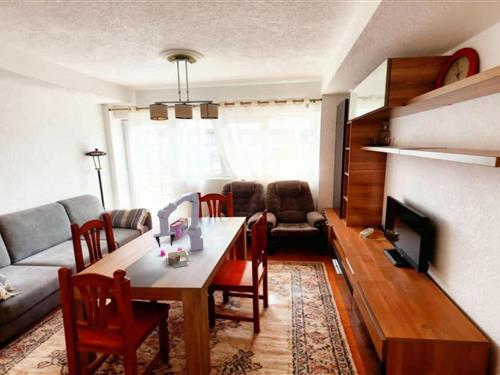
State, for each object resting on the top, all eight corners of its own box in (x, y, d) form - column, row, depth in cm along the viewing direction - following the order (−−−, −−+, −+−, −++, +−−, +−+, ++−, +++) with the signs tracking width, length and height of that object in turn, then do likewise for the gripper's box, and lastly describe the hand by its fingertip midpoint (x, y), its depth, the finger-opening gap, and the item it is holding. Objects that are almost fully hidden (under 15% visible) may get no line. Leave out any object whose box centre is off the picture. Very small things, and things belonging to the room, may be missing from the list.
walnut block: (179, 255, 183) (172, 259, 177) (180, 260, 184) (173, 264, 178) (175, 254, 185) (168, 258, 179) (175, 259, 186) (168, 263, 179)
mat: (186, 262, 183) (186, 261, 183) (188, 266, 176) (188, 265, 176) (172, 264, 180) (172, 263, 180) (173, 268, 173) (173, 267, 173)
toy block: (182, 255, 206) (181, 246, 204) (182, 258, 200) (181, 249, 198) (161, 258, 201) (160, 249, 200) (161, 262, 195) (160, 252, 194)
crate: (186, 255, 194) (186, 249, 193) (188, 260, 185) (188, 254, 184) (166, 258, 189) (165, 252, 188) (167, 264, 180) (166, 258, 179)
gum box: (177, 240, 226) (176, 225, 224) (169, 239, 228) (168, 225, 226) (188, 231, 248) (188, 218, 246) (181, 231, 249) (180, 218, 247)
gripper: (174, 224, 188) (175, 242, 190) (152, 226, 183) (154, 246, 185) (176, 226, 182) (177, 246, 184) (153, 229, 176) (154, 249, 178)
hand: (165, 246), depth 184 cm, fingers open, 7 cm apart
